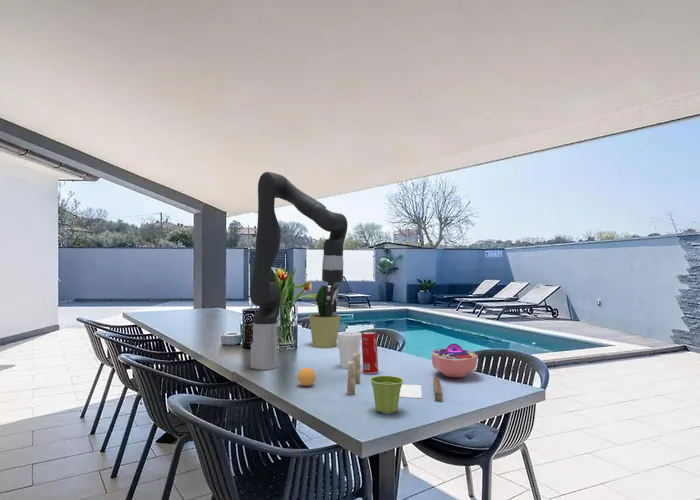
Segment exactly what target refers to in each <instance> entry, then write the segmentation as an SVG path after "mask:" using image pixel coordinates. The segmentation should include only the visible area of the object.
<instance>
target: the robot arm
mask: <svg viewBox="0 0 700 500" xmlns="http://www.w3.org/2000/svg"><path fill="white" fill-rule="evenodd" d="M275 199H281V200H284V201H286V202H288V203H290V204H291V205H293V206H294V208H296V210H297V211H298V212H300V213H301V215H304V216H305V217H306V218H308V219H310V220H312V221H313V222H314V223H315V224H316V225H317V226H318V227H320V228H321V229H322V230H324V231H326V232H329V236H328V239H324V243H323V257H322V263H321V264H322V268H321V280H322V282H324V283H327V285H325V286H326V287H325V288H326V293H325V303H326V304H327V307H326V315H329V316H332V315H333V314H334V313H337V309H338V308H337V307H338V305H337V304H338V300H339V283H342V282H343V281H344V243H345V240H346V236H347V232H348V226H349V225H348V219H347V217H346V216H345V215H344V214H343V213H338V212H333V211H331V210H330V209H328V208H327V207H326V206H325V205H324V204H323V203H322V202H320V201H318V200H317V199H315V198H313V197H312V196H310V195H308V194H307V193H305V192H303V191H302V190H301V189H299V188H298V187H296V186H295V185H294V184H293V183H292V182H291V181H290V180H289V179H287V177H285V176H284V175H281V174H279V173H276V172H271V171H265V172H263V173H262V174H261V175H260V176H259V178H258V183H257V209H258V210H257V223H256V224H257V225H256V227H257V228H256V235H255V237H256V238H255V251H254V252H255V253H254V262H253V271H252V277H251V283H250V287H249V297H250V301H251V303H252V304H253V305H255V306H257V307H258V310H257V312H256V313H254V315H253V317H252V318H253V319H252V320H253V321H252V342H251V343H250V369H253V370H266V371H267V370H274V369H276V368H277V363H278V360H277V356H278V353H277V352H278V349H277V348H278V317H279V315H280V311H281V309H280V308H281V307H280V306H281V290H280V287H279V285H278V284H277V283H276V282H274V281H270V280H271V270H272V267H273V264H274V263H275V260H276V258H277V257H278V254H279V251H280V247H281V235H282V234H281V232H282V231H281V228H280V223H279V221H278V218H277V215H276V211H275V202H276V201H275ZM329 299H330V300H329Z"/></svg>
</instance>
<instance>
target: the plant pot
mask: <svg viewBox="0 0 700 500" xmlns="http://www.w3.org/2000/svg"><path fill="white" fill-rule="evenodd" d="M369 381H370V383H371V387H372V391H373V397H374V398H373V399H374V405H375V407H374V408H375V410H376V412H381V413H382V414H393V413H395V412H398V408H399V401H400V397H399V395H400V389H401V386H402V384H403V383H404V379H403V378H402V377H398V376H393V375H377V376H372V377H370V379H369Z"/></svg>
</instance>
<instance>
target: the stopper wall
mask: <svg viewBox="0 0 700 500" xmlns="http://www.w3.org/2000/svg"><path fill="white" fill-rule="evenodd" d="M432 385H433V387H432V388H433V392H434V393H433V394H434V401H435V402H443V391H442V385H441V381H440V377H433V378H432Z"/></svg>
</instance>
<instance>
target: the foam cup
mask: <svg viewBox="0 0 700 500" xmlns="http://www.w3.org/2000/svg"><path fill="white" fill-rule="evenodd" d="M337 342H338V350H339V351H338V352H339V353H338V354H339V361H340V367H341V368H344V369H348V362H349V361H353V354H354V353H360V350H361V349H360V348H361V343H362V333H361V332H359V331H340V332H339V331H338V333H337Z"/></svg>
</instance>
